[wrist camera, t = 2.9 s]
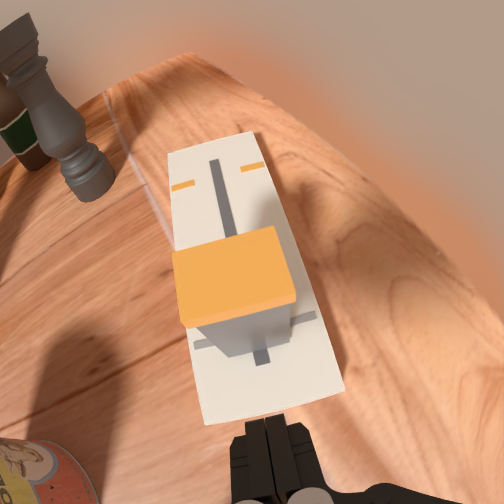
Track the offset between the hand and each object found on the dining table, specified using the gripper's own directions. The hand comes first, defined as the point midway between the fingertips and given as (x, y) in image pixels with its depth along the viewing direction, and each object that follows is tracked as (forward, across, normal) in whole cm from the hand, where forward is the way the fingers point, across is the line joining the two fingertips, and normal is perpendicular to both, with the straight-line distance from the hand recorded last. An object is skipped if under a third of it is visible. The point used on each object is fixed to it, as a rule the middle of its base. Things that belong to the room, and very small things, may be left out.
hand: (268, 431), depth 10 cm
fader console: (+19, 0, -2) cm, 19 cm away
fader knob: (+11, 0, +1) cm, 11 cm away
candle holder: (+30, +16, -14) cm, 37 cm away
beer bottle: (+40, +30, -24) cm, 56 cm away
